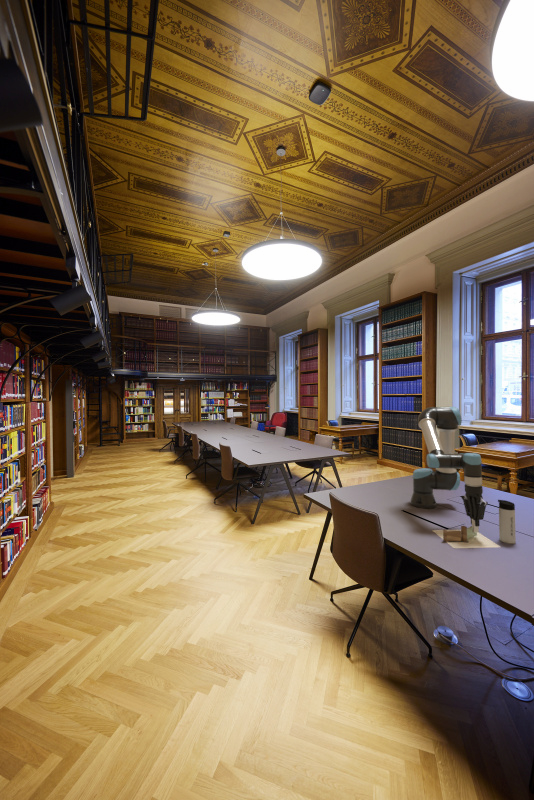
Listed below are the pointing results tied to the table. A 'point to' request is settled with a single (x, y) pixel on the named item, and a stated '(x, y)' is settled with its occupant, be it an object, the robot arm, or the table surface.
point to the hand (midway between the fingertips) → (475, 532)
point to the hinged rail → (470, 533)
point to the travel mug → (507, 522)
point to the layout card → (470, 541)
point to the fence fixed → (455, 535)
